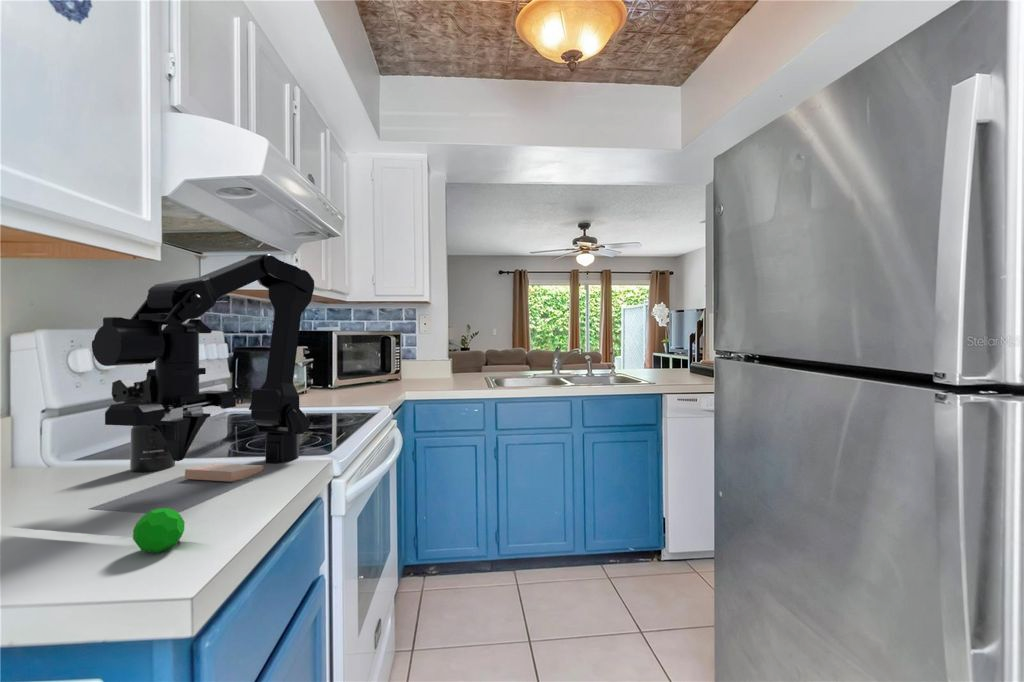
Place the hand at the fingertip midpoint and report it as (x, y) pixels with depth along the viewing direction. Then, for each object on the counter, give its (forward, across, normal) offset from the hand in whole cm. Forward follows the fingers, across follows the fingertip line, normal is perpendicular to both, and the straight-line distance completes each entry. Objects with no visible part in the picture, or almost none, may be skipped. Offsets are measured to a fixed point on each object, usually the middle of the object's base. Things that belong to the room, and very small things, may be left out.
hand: (178, 460), depth 75 cm
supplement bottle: (+6, -12, -17) cm, 22 cm away
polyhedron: (+6, +16, +13) cm, 22 cm away
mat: (+6, 0, 0) cm, 6 cm away
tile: (+4, -6, 0) cm, 7 cm away
